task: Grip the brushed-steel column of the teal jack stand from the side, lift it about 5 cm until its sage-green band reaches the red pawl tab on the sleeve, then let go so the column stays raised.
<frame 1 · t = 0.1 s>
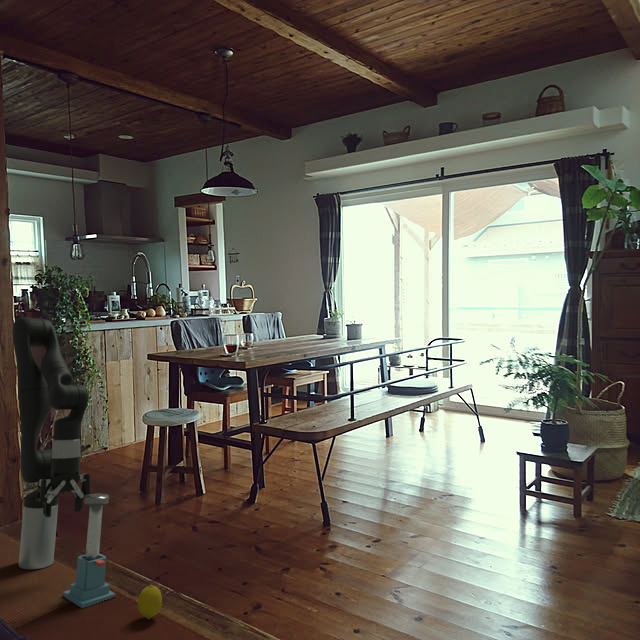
hand: (62, 514, 159), 17 cm above the table, tool pointing down, fingers open, 8 cm apart
lemon: (148, 619, 136), on the table
stand base: (89, 596, 146), on the table
column: (93, 543, 147), point 13 cm above the table, slide at 0.0 cm
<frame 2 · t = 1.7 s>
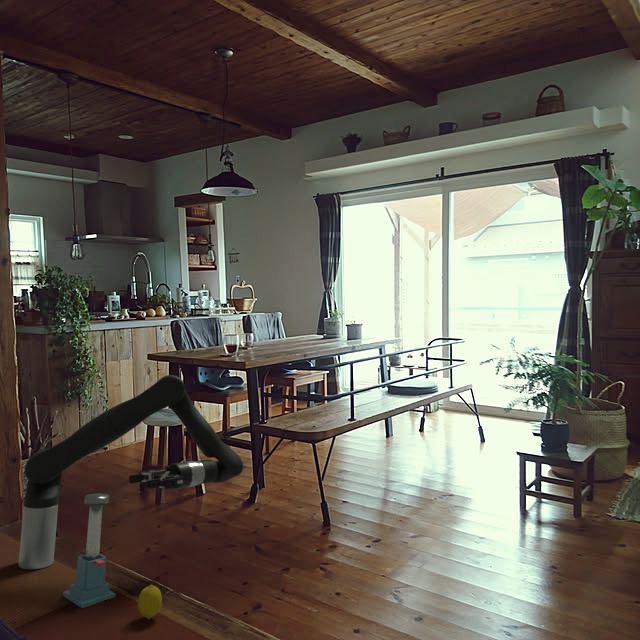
hand: (137, 482, 157), 28 cm above the table, tool horizontal, fingers open, 8 cm apart
nothing on the table moved.
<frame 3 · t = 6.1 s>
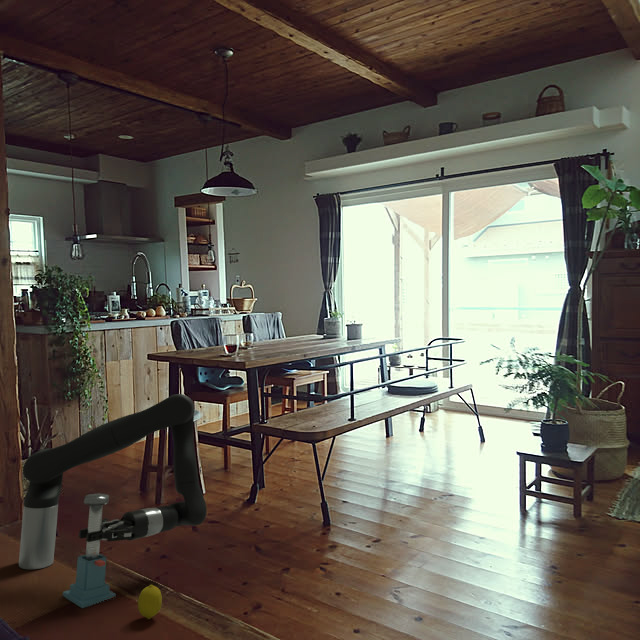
hand: (83, 535, 145), 16 cm above the table, tool horizontal, fingers closed on column, 3 cm apart
column: (93, 543, 147), point 13 cm above the table, slide at 0.0 cm, touching gripper
everything else where it was.
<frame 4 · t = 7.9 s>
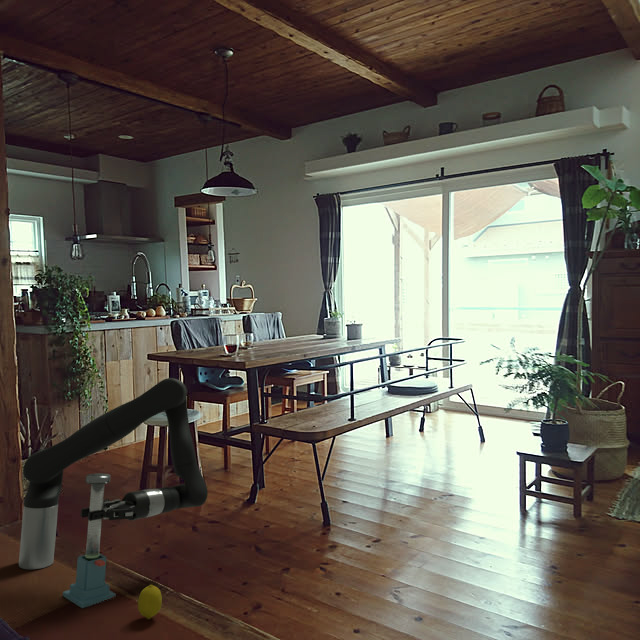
hand: (85, 514, 145), 21 cm above the table, tool horizontal, fingers closed on column, 3 cm apart
column: (94, 523, 147), point 19 cm above the table, slide at 5.3 cm, touching gripper
everything else where it was.
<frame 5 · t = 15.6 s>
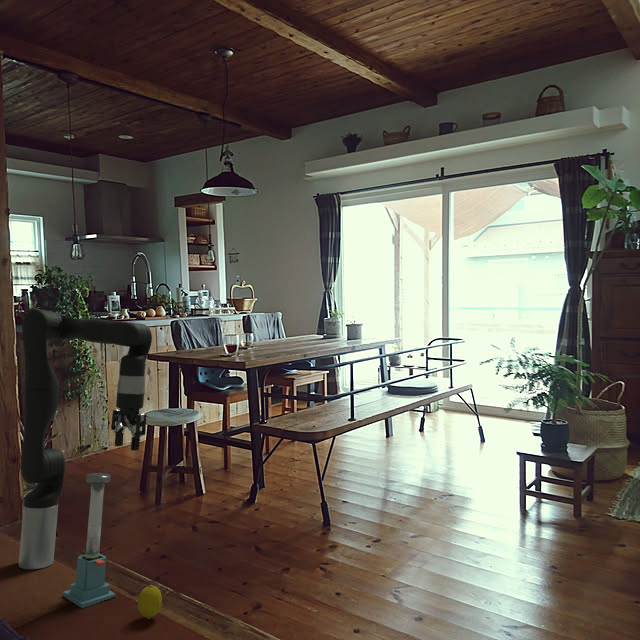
hand: (126, 448, 162), 36 cm above the table, tool pointing down, fingers open, 8 cm apart
column: (94, 522, 147), point 19 cm above the table, slide at 5.4 cm
everything else where it was.
at the end: column slide at 5.4 cm; the gripper is holding nothing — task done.
